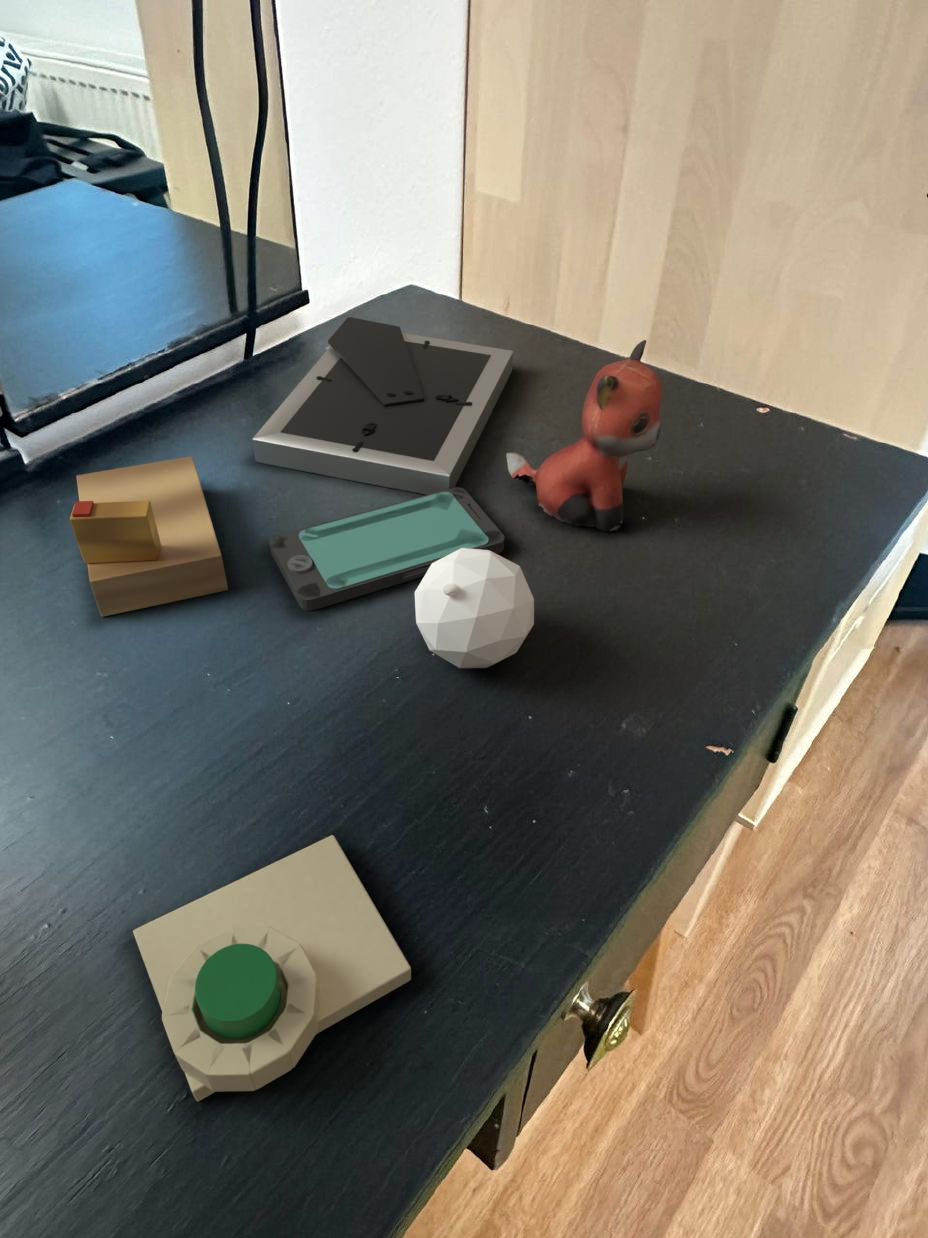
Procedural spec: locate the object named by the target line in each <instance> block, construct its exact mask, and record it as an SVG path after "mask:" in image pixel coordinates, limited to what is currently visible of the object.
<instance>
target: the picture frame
mask: <svg viewBox="0 0 928 1238" xmlns="http://www.w3.org/2000/svg"><path fill="white" fill-rule="evenodd" d="M327 343H328V344H329V347H328V348H327V350H326V351H325V352H324V353H323V354H322V355H321V357H320V358H319V359H318V360H317V362H316V363H315V364H314V365H313V366H312V367H311V369H310V370H309V371H308V372H307V373H306V375H305V376H304V377H303V378H302V379H301V381H300V382H299V383H298V384H297V385H296V386H295V387H294V389H292V391H291V392H290V393H289V395H288V396H287V397H286V398H285V399H284V400H283V402H282V403H281V404H280V405H279V406H278V408H277V409H276V410H275V411H274V413H273V414H272V415H271V416H270V417H269V418H268V420H266V422H265V423H264V424H263V425H262V426H261V428H260V429H259V430H258V431H257V432H256V434H255V435H254V436H253V437H252V439H251V443H252V448H253V457H254V462H255V463H259V464H264V465H269V466H275V467H280V468H285V469H291V470H296V471H301V472H305V473H312V474H317V475H320V476H327V477H332V478H337V479H342V480H347V481H353V482H358V483H363V484H368V485H373V486H374V485H375V486H379V487H384V488H388V489H393V490H398V491H404V492H409V493H414V494H421V495H424V496H425V495H429V494H432V493H436V492H440V491H443V490H447V489H451V488H454V487H456V485H457V483H458V482H459V479H460V477H461V475H462V473H463V471H464V469H465V468H466V465H467V463H468V461H469V459H470V457H471V455H472V453H473V451H474V449H475V447H476V445H477V443H478V441H479V439H480V436H481V434H482V432H483V431H484V429H485V426H486V425H487V423H488V421H489V419H490V416H491V415H492V413H493V411H494V408H495V407H496V405H497V403H498V400H499V399H500V396H501V394H502V392H503V391H504V389H505V386H506V385H507V382H508V380H509V378H510V377H511V374H512V372H513V359H514V350H509V349H505V348H498V347H491V346H486V345H479V344H472V343H467V342H460V341H454V340H448V339H443V338H436V337H429V336H423V335H416V334H412V333H411V334H410V333H405V332H402V329H401V327H400V326H398V325H394V324H393V325H392V324H387V323H383V322H377V321H372V320H367V319H362V318H357V317H353V316H348V317H346V319H345V320H344V321H343V322H342V323H341V324H340V325H339V327H338V328H337V329H336V330H335V332H334V333H333V334H332V335H331V336H330V337H329V339H328V340H327Z"/></svg>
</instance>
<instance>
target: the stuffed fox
mask: <svg viewBox="0 0 928 1238" xmlns="http://www.w3.org/2000/svg"><path fill="white" fill-rule="evenodd" d="M646 345H647V340H646V339H643V340H642V341H640V342H639V343H637V344H636V346H635V347H634V348H633V350H632V351H631V353H630V355H629V357H628V358H627V359H623V360H618V361H614V362H611V363H607V364H606V365H603V366H602V368H600V369H599V370H598V372H597V373H596V375H595V377H594V379H592V380H593V381H592V383H591V385H590V387H589V389H588V392H587V394H586V397H585V400H584V403H583V406H582V411H581V430H582V432H583V436H582V437H580V438H579V439H578V440H577V441H576V442H573V443H571V444H569V445H567V446H565V447H563V448H562V449H560V450H557V451H556V452H554V453H552V454H551V455H550V456H548V457H547V458H546V459H545V460H544V461H543V462H542V463H541V464H540V465H539V467H538V468H534V467H533V466H532V465H531V463H530V462H529V460H528V459H527V458H526V457H525V456H523V455H522V454H521V453H519V452H517V451H512V452H511V451H510V452H506V462H507V470H508V473H509V475H510V477H511V478H512V479H513V480H517V479H518V481H522V482H524V483H525V484H529V485H532V486H536V487H535V488H536V499H537V500H538V506H539V507H541V508H542V509H543V512H544V513H546V514H548V515H549V516H550V517H554V518H555V519H557V520H558V521H560V522H561V523H567V524H569V525H571V526H574V527H580V526H581V527H589V528H592V527H596V529H599V530H601V531H603V532H612V531H618V530H620V529H622V526H623V522H624V512H623V511H624V501H623V485H624V483H625V480H626V476H627V472H628V470H629V469H628V467H629V464H628V462H629V461H628V460H629V458H630V456H631V455H632V454H634V453H639V452H645V451H648V450H650V449H652V448H653V447H655V446H656V444H657V443H658V440H659V437H660V433H661V425H662V424H661V417H660V406H661V402H662V395H663V388H662V381H661V379H660V377H659V375H658V374H657V372H655V370H653V368H651V367H650V366H648V365H646V364H645V363H643V362H642V360H641V359H642V358H643V355H644V352H645V349H646Z"/></svg>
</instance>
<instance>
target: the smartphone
mask: <svg viewBox="0 0 928 1238" xmlns="http://www.w3.org/2000/svg"><path fill="white" fill-rule="evenodd" d="M269 547H270V555H271V556H272V558H273V560H274V561H275V564H276V566H277V567H278V569H279V571H280V573H281V574H282V576H283V578H284V580H285V582H286V584H287V586H288V587H289V589H290V592H292V595H293V597H294V599H295V600H296V603H297V605H298V606H299V607H300V609H301V610H304V611H307V612H310V611H312V612H313V611H315V610H318V609H322V608H325V607H329V606H332V605H335V604H338V603H342V602H345V601H348V600H352V599H354V598H357V597H361V596H364V595H365V596H366V595H367V594H371V593H374V592H377V591H381V590H384V589H387V588H390V587H394V586H397V585H400V584H404V583H406V582H410V581H413V580H416V579H419V578H423V577H424V576H425V574H426V572H427V571H428V569H429V567H430V566H431V564H432V563H434V562H436V561H438V560H439V559H441V558H443V557H445V556H447V555H449V554H451V553H453V552H455V551H457V550H459V549H461V548H470V549H481V550H490V551H492V552H493V553H495V554H497V555H499V554H501V553H502V552H503V551H504V548H505V535H504V533H502V531H501V530H500V529H499V527H498V526H497V525H496V524H495V523H494V522H493V520H492V519H491V518H490V517H489V516H488V515H487V514H486V512H485V511H484V510H483V509H482V508H481V506H480V505H479V503H477V501H475V500H474V498H473V497H472V496H471V495H470V494H469V493H468V491H467V490H466V489H465V488H463V487H459V486H455V487H454V488H451V489H447V490H443V491H440V492H436V493H432V494H429V495H425V494H424V495H422V496H419V497H418V496H417V497H415V498H411V499H406V500H403V501H399V502H396V503H391V504H389V505H385V506H381V507H377V508H373V509H370V510H366V511H363V512H359V513H356V514H352V515H348V516H344V517H340V518H337V519H334V520H329V521H326V522H322V523H319V524H315V525H312V526H311V525H310V526H308V527H304V528H301V529H297V530H293V531H289V532H286V533H281V534H278V535H274V536H273V537H271V539H270V540H269Z"/></svg>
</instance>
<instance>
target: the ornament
mask: <svg viewBox="0 0 928 1238" xmlns="http://www.w3.org/2000/svg"><path fill="white" fill-rule="evenodd" d="M414 610H415V624H416V626H417V628H418V630H419V632H420V634H421V637H422V638H423V640H424V642H425V644H426V646H427V648H428V651H430V652H431V653H433V654H435V655H436V656H438V657H440V658H441V659H443V660H445V661H447V662H449V663H450V664H452V665H453V666H455V667H456V668H458V669H487V668H489V667H491V666H493V665H495V664H497V663H500V662H501V661H503V660H505V659H507V658H509V657H511V656H514V655H515V654H517V653H518V651H519V649H520V647H521V646H522V644H523V643H524V641H525V640H526V638H527V636H528V635H529V633H530V631H531V630H532V628H533V626H534V625H535V598H534V595H533V594H532V591H531V589H530V587H529V584H528V582H527V580H526V577H525V575H524V572H523V570H522V568H521V566H520V565H518V564H517V563H515V562H513V561H512V560H509V559H507V558H505V557H503V556H501V555H499V554H495V553H493V552H492V551H490V550H481V549H470V548H461V549H459V550H457V551H455V552H453V553H451V554H449V555H447V556H445V557H443V558H441V559H439V560H438V561H436V562H434V563H432V564H431V566H430V567H429V569H428V571H427V572H426V574H425V576H423V577H422V579H421V581H420V583H419V584H418V585H417V587H416V589H415V591H414Z"/></svg>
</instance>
